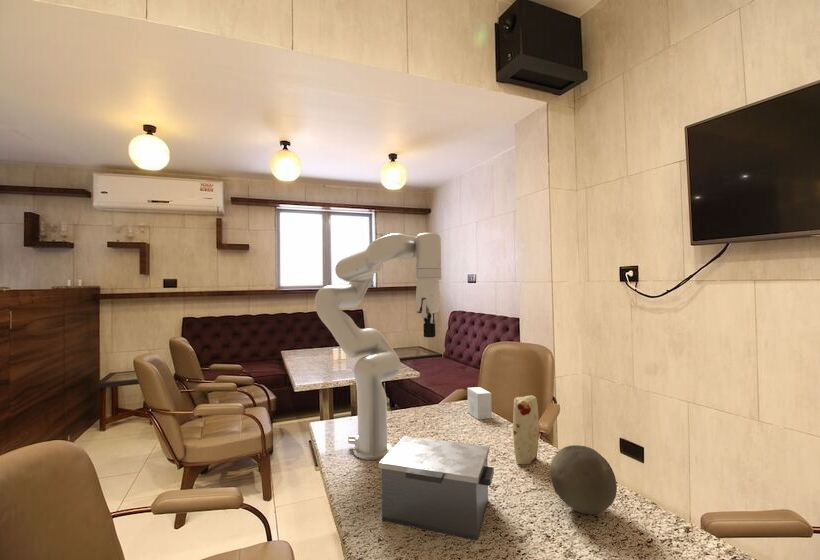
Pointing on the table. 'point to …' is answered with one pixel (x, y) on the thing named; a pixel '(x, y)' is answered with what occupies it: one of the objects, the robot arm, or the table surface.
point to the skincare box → (479, 403)
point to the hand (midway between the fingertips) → (429, 336)
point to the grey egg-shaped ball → (583, 479)
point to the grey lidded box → (436, 503)
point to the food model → (525, 429)
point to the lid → (436, 460)
